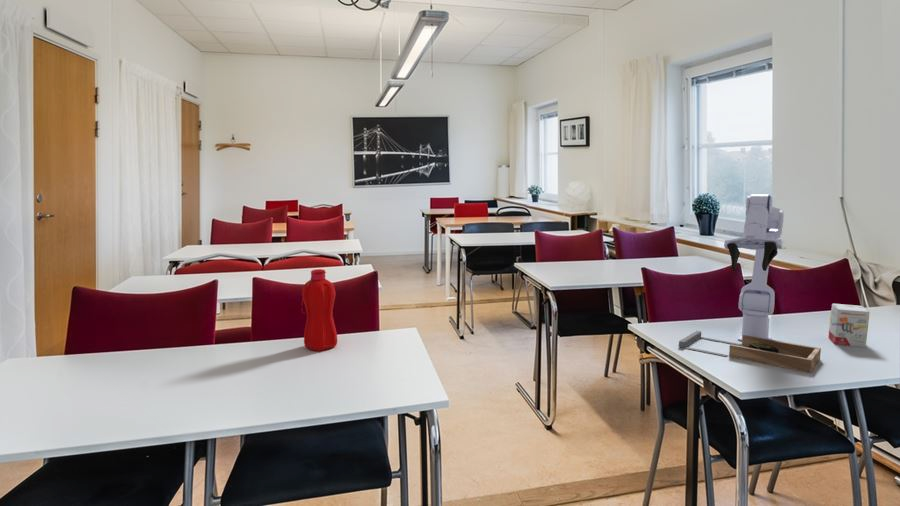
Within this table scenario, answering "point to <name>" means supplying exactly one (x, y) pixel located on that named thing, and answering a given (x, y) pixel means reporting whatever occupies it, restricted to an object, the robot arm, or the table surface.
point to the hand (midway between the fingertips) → (748, 268)
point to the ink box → (848, 325)
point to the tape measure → (763, 347)
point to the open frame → (778, 354)
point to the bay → (697, 335)
